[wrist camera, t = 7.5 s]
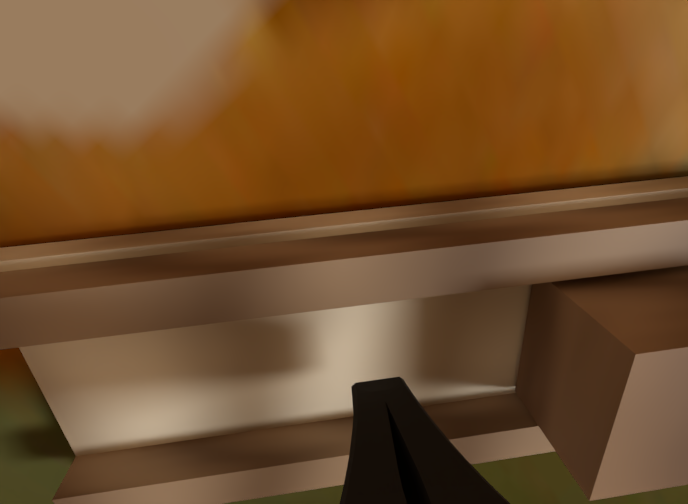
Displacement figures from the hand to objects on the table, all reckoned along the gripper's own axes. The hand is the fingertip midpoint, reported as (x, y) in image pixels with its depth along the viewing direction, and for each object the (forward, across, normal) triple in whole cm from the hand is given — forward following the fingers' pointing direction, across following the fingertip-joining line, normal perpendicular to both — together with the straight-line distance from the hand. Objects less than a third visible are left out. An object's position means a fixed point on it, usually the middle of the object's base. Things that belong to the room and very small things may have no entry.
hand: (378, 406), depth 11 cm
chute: (+3, -2, 0) cm, 4 cm away
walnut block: (+2, -8, 0) cm, 9 cm away
